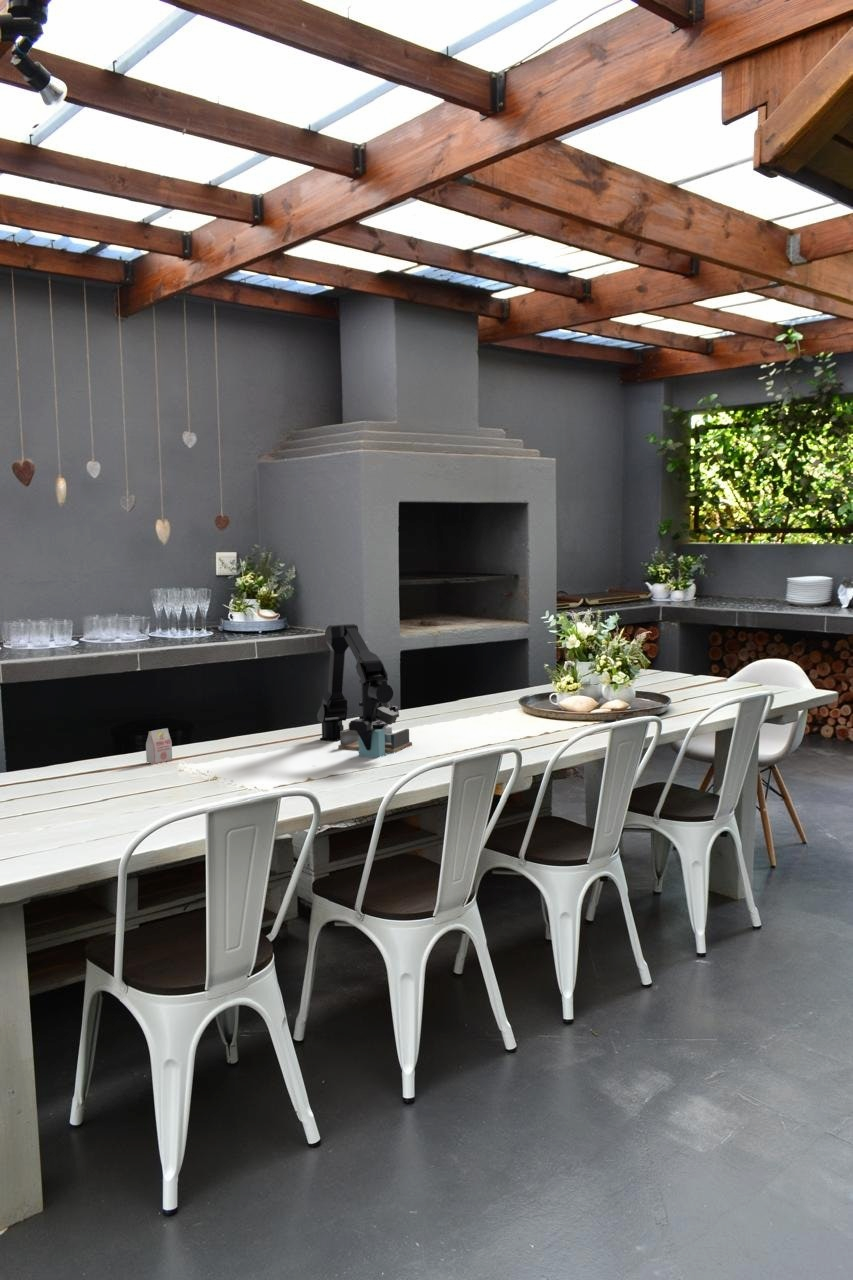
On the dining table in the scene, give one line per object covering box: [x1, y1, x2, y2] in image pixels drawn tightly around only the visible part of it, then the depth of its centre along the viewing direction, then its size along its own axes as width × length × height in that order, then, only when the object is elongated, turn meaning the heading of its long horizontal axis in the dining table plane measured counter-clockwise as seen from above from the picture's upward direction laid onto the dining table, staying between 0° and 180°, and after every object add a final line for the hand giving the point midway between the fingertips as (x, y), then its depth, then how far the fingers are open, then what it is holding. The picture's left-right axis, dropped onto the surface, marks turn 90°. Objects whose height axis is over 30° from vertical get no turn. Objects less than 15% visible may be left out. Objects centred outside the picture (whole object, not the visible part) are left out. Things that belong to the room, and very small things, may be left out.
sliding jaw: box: [384, 726, 410, 749], centre depth 324 cm, size 8×12×4 cm, turn 155°
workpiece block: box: [358, 729, 386, 758], centre depth 314 cm, size 7×4×8 cm, turn 65°
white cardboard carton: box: [145, 727, 173, 765], centre depth 309 cm, size 4×7×10 cm, turn 142°
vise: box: [338, 728, 413, 753], centre depth 327 cm, size 20×13×6 cm, turn 65°
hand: (371, 748), depth 314 cm, fingers closed on workpiece block, 4 cm apart
